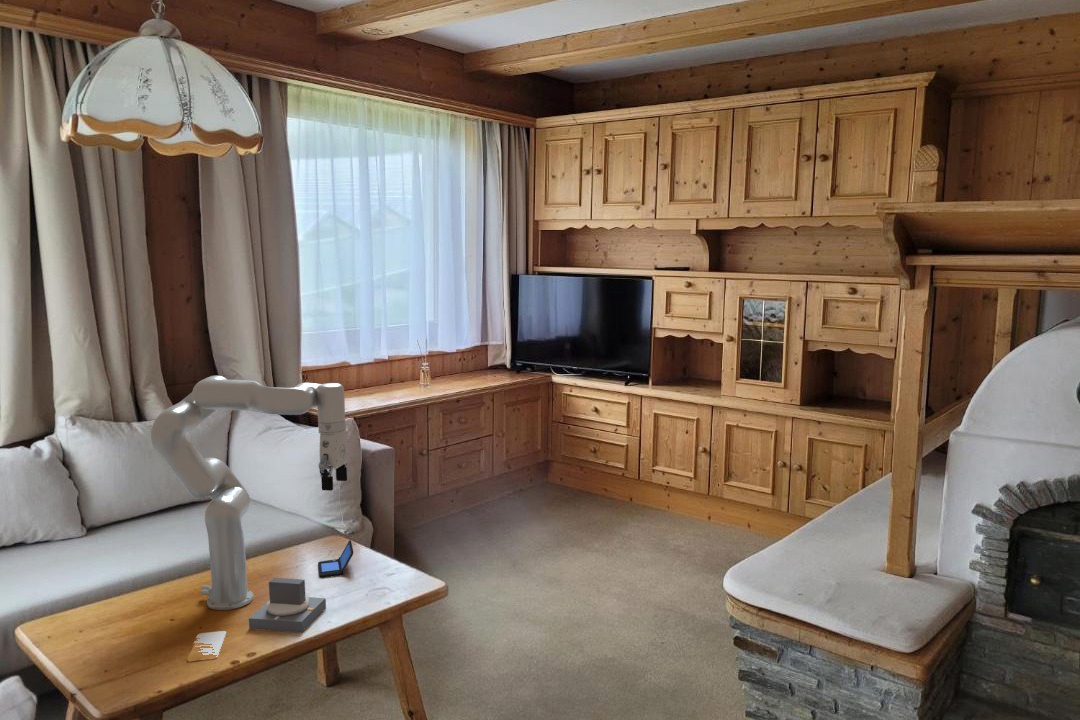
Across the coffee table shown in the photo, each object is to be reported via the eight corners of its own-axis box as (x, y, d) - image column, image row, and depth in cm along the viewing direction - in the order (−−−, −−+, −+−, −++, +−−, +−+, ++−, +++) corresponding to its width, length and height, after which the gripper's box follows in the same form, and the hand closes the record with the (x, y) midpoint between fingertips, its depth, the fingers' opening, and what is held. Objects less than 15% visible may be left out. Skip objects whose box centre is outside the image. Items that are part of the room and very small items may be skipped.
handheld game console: (317, 564, 261) (316, 542, 260) (351, 560, 264) (350, 538, 263) (318, 579, 249) (317, 556, 248) (354, 574, 252) (353, 552, 251)
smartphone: (185, 661, 198) (197, 633, 212) (185, 664, 198) (197, 636, 212) (217, 658, 199) (227, 630, 214) (217, 661, 199) (227, 633, 214)
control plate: (249, 628, 215) (248, 617, 215) (276, 605, 230) (275, 594, 230) (301, 632, 213) (301, 621, 212) (326, 608, 227) (325, 597, 227)
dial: (259, 614, 217) (257, 587, 216) (279, 597, 227) (278, 571, 226) (297, 617, 215) (295, 590, 214) (315, 599, 225) (314, 574, 224)
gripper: (331, 433, 220) (334, 494, 222) (356, 421, 237) (358, 477, 239) (306, 433, 221) (309, 493, 224) (332, 420, 238) (335, 476, 241)
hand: (334, 485), depth 231 cm, fingers open, 9 cm apart
